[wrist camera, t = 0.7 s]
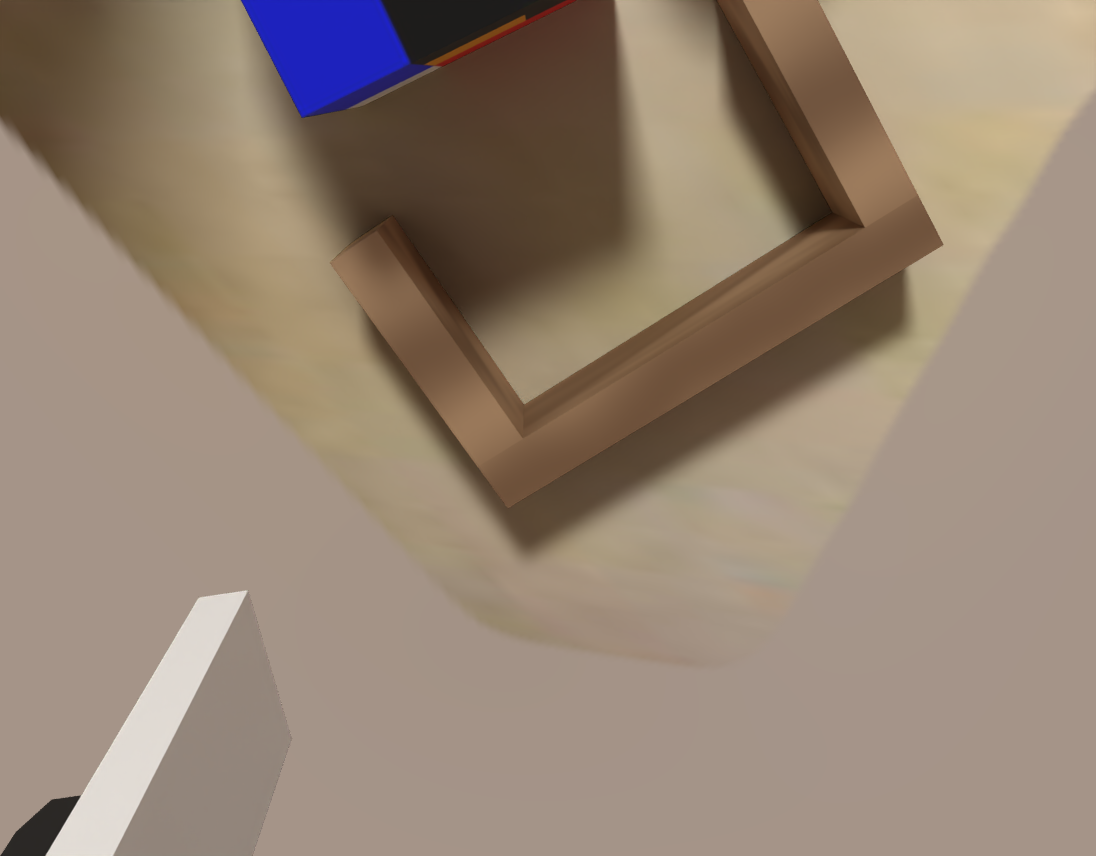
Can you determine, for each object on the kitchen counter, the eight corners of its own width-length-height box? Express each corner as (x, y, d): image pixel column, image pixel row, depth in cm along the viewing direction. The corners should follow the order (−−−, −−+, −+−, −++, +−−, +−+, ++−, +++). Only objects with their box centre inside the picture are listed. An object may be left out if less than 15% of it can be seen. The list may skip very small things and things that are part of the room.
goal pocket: (349, 244, 38) (329, 262, 35) (763, -38, 35) (791, -52, 32) (510, 468, 41) (507, 508, 38) (903, 228, 38) (943, 244, 35)
